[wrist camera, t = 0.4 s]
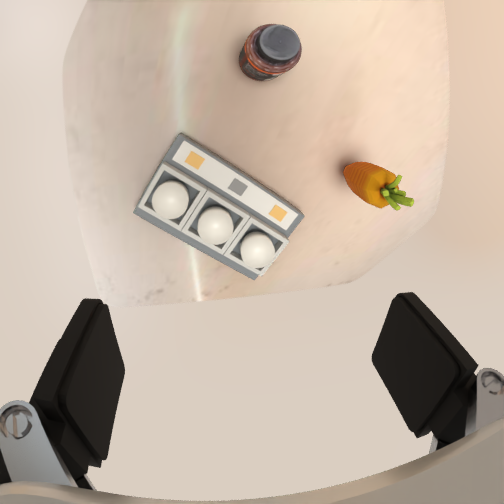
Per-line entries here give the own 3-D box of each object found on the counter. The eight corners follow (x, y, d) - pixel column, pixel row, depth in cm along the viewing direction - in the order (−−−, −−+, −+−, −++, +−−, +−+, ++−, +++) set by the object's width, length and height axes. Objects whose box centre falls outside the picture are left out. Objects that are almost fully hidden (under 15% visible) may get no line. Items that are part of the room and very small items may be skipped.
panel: (136, 207, 39) (129, 217, 36) (180, 132, 36) (177, 135, 32) (252, 271, 47) (256, 286, 43) (299, 210, 43) (308, 220, 39)
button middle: (191, 227, 38) (190, 233, 36) (210, 200, 37) (210, 204, 35) (220, 243, 40) (220, 250, 38) (239, 217, 38) (240, 223, 37)
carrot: (324, 170, 41) (375, 202, 27) (346, 146, 39) (406, 167, 26) (345, 192, 43) (399, 232, 29) (366, 169, 41) (427, 199, 28)
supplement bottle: (280, 85, 35) (305, 76, 25) (235, 78, 34) (244, 64, 23) (286, 45, 32) (313, 24, 22) (241, 37, 31) (253, 11, 21)
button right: (233, 251, 40) (234, 258, 39) (252, 225, 39) (254, 231, 37) (259, 266, 42) (261, 273, 40) (278, 241, 41) (281, 248, 39)
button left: (148, 202, 36) (145, 207, 34) (165, 173, 34) (163, 177, 33) (178, 219, 37) (176, 225, 36) (195, 191, 36) (195, 195, 34)
